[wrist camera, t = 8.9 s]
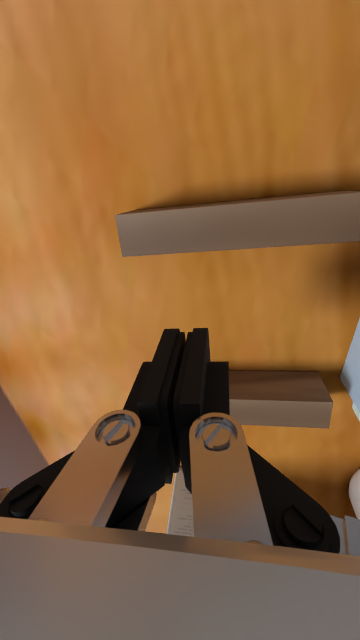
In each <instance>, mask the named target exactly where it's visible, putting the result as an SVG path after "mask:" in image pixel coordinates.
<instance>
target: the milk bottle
mask: <svg viewBox="0 0 360 640" xmlns="http://www.w3.org/2000/svg"><path fill="white" fill-rule="evenodd" d="M349 498H350V501H351V503H352V506H353V509H354V512H355V515H356V517H357V519H360V468H359V469H358V470H357V471H356V472H355V473H354V474H353V476H352V478H351V480H350V484H349Z"/></svg>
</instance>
